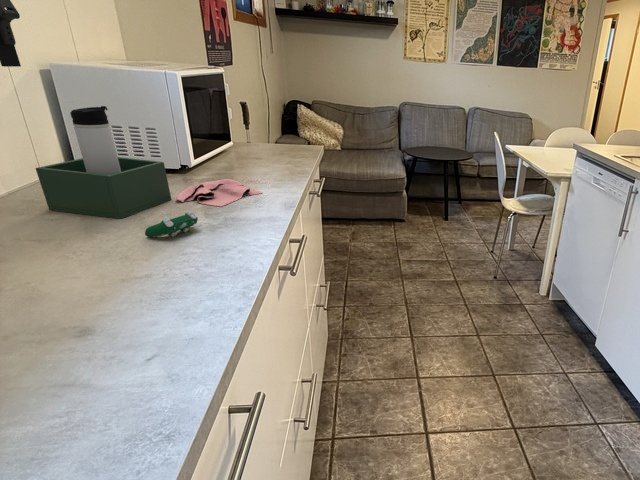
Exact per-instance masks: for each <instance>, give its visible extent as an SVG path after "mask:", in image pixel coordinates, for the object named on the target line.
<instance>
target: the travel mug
mask: <svg viewBox="0 0 640 480" xmlns="http://www.w3.org/2000/svg"><path fill="white" fill-rule="evenodd" d="M106 111H109V110H108V107H107V106H106V105H101V106H92V107H91V106H90V107H83V108H81V107H80V108H76V109H72V110H71V111H70V117H71V119H72V125H73V129H74V132H75V137H76V139H77V143H78V147H79V150H80V154H81V158H83V161H84V164H85V168H86V172H87V173H96V174H105V175H111V174H115V173H119V172H121V169H120V165H119V161H118V157H119V156H118V153H117V150H116V145H115V141H114V137H113V133H112V129H111V126H110V122H109V119H108V115H107V113H106Z"/></svg>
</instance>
